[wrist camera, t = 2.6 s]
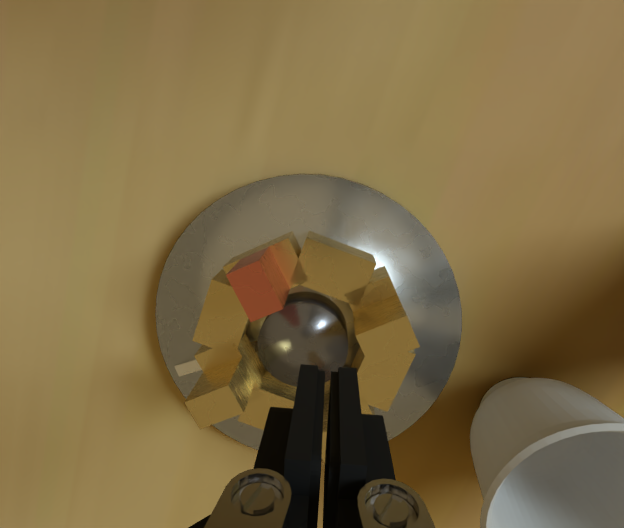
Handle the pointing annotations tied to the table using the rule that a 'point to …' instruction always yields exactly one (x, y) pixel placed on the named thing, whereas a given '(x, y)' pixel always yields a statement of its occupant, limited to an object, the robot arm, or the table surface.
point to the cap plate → (309, 303)
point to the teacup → (547, 457)
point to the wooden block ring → (271, 298)
